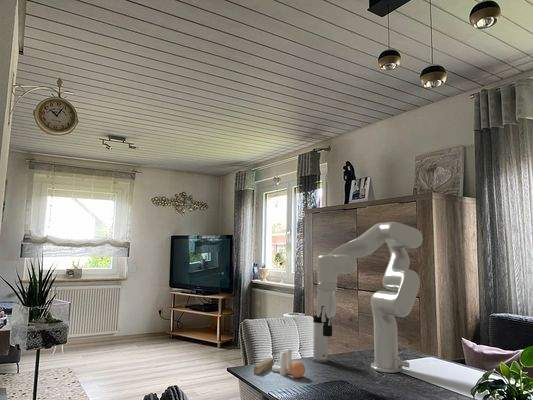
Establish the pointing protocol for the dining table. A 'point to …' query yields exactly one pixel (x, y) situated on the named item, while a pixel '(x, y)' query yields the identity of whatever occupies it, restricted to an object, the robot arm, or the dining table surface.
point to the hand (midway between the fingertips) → (327, 335)
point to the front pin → (277, 369)
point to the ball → (297, 369)
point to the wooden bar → (263, 366)
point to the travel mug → (319, 341)
